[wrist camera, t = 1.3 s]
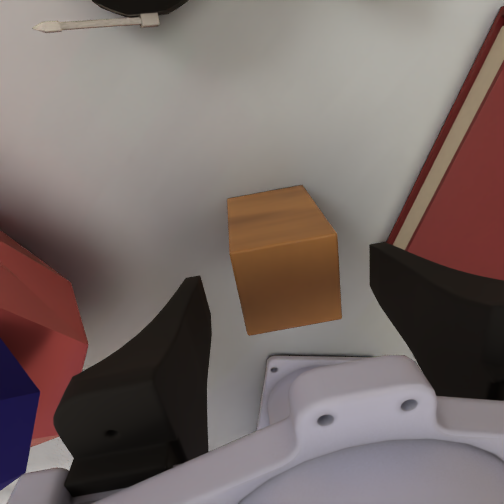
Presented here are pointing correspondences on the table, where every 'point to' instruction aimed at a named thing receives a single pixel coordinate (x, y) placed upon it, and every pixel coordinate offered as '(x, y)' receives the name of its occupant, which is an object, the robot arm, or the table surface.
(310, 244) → the wood block
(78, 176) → the table surface
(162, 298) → the table surface
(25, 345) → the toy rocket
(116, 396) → the robot arm
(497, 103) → the book
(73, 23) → the robot toy
